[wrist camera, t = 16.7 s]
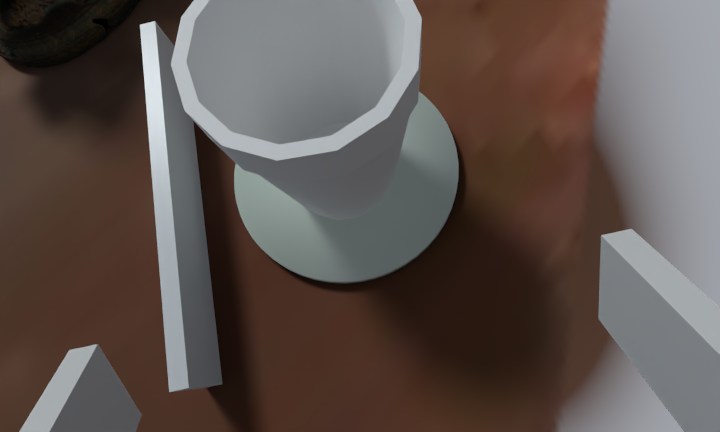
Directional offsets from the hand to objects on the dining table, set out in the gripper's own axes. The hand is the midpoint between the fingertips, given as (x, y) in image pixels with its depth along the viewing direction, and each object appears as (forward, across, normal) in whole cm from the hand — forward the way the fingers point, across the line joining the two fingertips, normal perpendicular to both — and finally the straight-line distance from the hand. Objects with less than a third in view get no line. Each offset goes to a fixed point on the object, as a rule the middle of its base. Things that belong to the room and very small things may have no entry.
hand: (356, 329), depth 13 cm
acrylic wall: (+19, -10, -4) cm, 22 cm away
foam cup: (+18, 0, -4) cm, 19 cm away
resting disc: (+19, 0, -4) cm, 19 cm away
